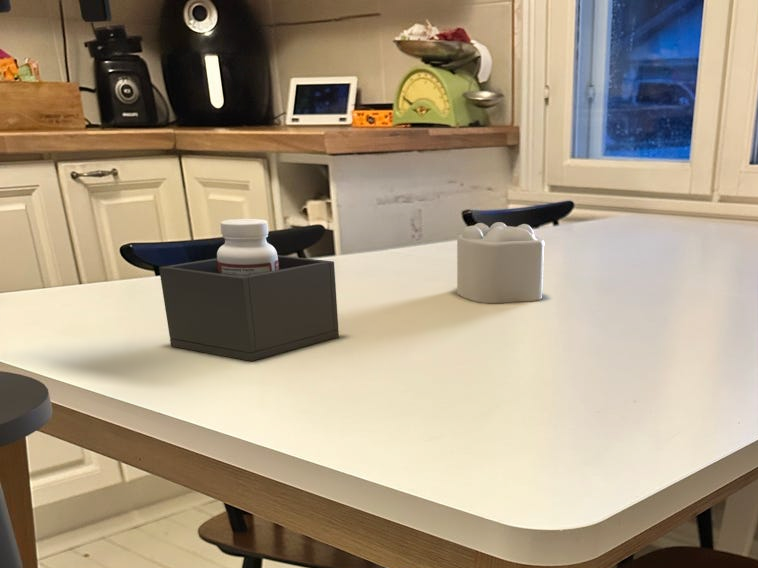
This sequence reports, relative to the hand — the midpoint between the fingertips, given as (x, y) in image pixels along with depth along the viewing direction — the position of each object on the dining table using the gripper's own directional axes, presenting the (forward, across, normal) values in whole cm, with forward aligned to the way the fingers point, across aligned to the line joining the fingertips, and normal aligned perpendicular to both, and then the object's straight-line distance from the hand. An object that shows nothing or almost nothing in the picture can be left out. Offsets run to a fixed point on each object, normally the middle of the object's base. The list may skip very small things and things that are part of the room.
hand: (49, 17), depth 77 cm
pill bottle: (+28, -14, +6) cm, 32 cm away
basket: (+28, -14, +6) cm, 32 cm away
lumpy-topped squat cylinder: (+28, -54, +12) cm, 62 cm away
